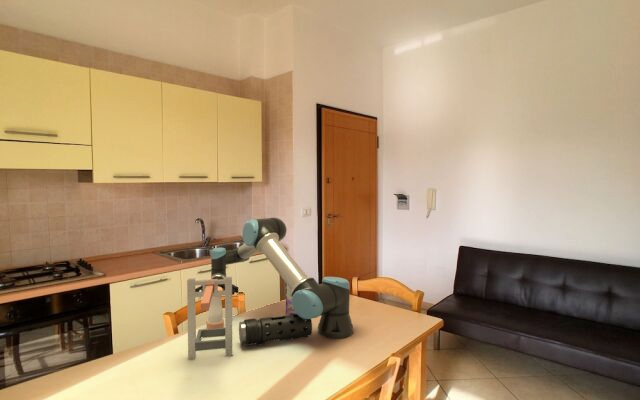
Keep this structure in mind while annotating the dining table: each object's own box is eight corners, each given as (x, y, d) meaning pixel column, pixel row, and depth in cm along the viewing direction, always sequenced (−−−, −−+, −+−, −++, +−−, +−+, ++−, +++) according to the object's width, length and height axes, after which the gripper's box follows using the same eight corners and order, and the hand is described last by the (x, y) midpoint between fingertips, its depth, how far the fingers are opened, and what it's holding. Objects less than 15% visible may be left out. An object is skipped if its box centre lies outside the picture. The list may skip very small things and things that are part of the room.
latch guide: (189, 356, 133) (188, 278, 131) (232, 352, 136) (231, 276, 135) (188, 359, 131) (187, 280, 129) (232, 355, 134) (231, 278, 132)
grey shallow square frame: (198, 336, 150) (198, 329, 150) (229, 334, 153) (229, 327, 153) (194, 350, 138) (194, 342, 138) (228, 347, 141) (228, 340, 140)
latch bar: (203, 293, 134) (203, 279, 134) (217, 292, 135) (217, 279, 135) (196, 315, 112) (196, 299, 112) (213, 314, 113) (213, 298, 113)
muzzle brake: (312, 341, 147) (312, 316, 146) (241, 352, 137) (241, 325, 136) (305, 332, 156) (305, 308, 155) (238, 341, 146) (238, 316, 145)
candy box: (316, 312, 178) (316, 279, 177) (313, 317, 173) (313, 282, 172) (289, 310, 181) (289, 277, 180) (285, 314, 176) (285, 280, 175)
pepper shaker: (207, 333, 153) (207, 288, 152) (205, 326, 160) (205, 284, 159) (225, 330, 156) (224, 286, 155) (222, 324, 163) (222, 282, 162)
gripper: (243, 288, 186) (243, 302, 165) (191, 291, 180) (185, 306, 160) (243, 274, 186) (243, 286, 165) (191, 276, 180) (185, 289, 159)
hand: (215, 296), depth 162 cm, fingers open, 13 cm apart
